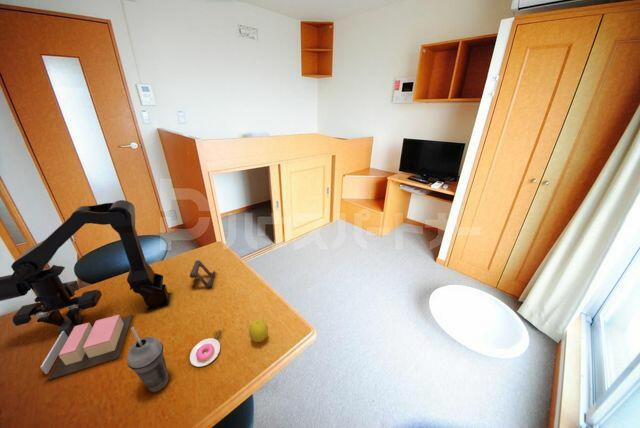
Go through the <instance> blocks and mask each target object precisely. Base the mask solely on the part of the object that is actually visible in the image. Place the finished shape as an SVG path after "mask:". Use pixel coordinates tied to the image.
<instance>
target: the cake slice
mask: <svg viewBox="0 0 640 428" xmlns="http://www.w3.org/2000/svg"><path fill="white" fill-rule="evenodd" d="M91 330H92V325H91V323H90V322H85V323H82V324H79V325H78V326H75V327H74V329H73V330H72V332H71V334H70V336H69V337H68V339H67V340H66V342H65V344H64V346H63V348H62V349H61V351H60V353H59V355H58V356H59V359H60V358H61V359H62V361H63V362H64V364H65V365H68V364H72V363H75V362H78V361H81V360H82V359H83V356H84V354H85V351H84V349H83V347H84V344H85V342H86V340H87V338H88V336H89V334H90V332H91Z"/></svg>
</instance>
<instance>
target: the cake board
mask: <svg viewBox="0 0 640 428" xmlns="http://www.w3.org/2000/svg"><path fill="white" fill-rule="evenodd" d="M121 319H122V321H123V323H124V325H123V328H122V331H121V334H120V337H119V340H118V342H117V345H116V348H115V350H114V351H111V352H108V353H104V354H101V355H98V356H94V357H91V358H89V357H88V356H87V354H86V352H85V354H84V356H83V359H82V360H81V361H78V362H75V363H72V364H68V365H65V364H64V362H63V361H62V359H61V358H60V357H59V359H58V361H57V363H56V365H55V366H54V368H53V370H52V372H51V374H50V376H49V378H48V381H52V380H56V379H58V378H61V377H64V376H68V375H71V374H74V373H77V372H80V371H83V370H87V369H91V368H93V367H96V366H100V365H103V364H106V363H110V362H112V361H116V360H119V359H120V357H121V353H122V349H123V346H124V343H125V341H126V337H127V335H128V332H129V329H130V324H131V322H132V319H133V315H130V316H127V317H123V318H122V317H121ZM91 326H92V325H91ZM93 326H94V325H93ZM93 326H92V328H93Z"/></svg>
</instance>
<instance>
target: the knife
mask: <svg viewBox="0 0 640 428" xmlns="http://www.w3.org/2000/svg"><path fill="white" fill-rule="evenodd" d="M83 318H84V317H83V315H82V313H81V310H80V311H79V323H78V324H77V325H75V324H73V323H72V321H71V320H70V319H69V318H68V317H67V316H66V317H64V319H65V320H64V321H63V323H62V325H61V326H59V328H58V329H57V333H58V334H59V336H58V337H57V339H56V341H55V342H54V344H53V345H52V347H51V348H50V350H49V352H48V354H47V356H45V358H44V360H43V362H42V364H41V365H40V367H39V368H40V370H41V371H42V372H43V373H44V375H47V374H49V372H50V370H51V369H52V367H53V365H54V364H55V361H56V360H57V358H58V356H59V353H60V352H61V350H62V348H63V346H64V344H65V343H66V341H67V339H68V337H69V336H70V334H71V332H72V330H73V329H74V327H75V326H78V325H80V323H81V321H82V319H83Z"/></svg>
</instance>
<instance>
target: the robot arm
mask: <svg viewBox="0 0 640 428" xmlns="http://www.w3.org/2000/svg"><path fill="white" fill-rule="evenodd" d="M88 224H92V225H100V226H101V225H102V226H104V225H105V226H106V225H110V227H111V228H112V229H113V230H114V231H115V232H116V233H117V234H118V236H119V238H120V241H121V243H122V247H123V251H124V253H125V255H126V258H127V260H128V261H127V262H128V263H129V267H130V269H129V271H128V274H127V277H126V281H127V284H128V285H129V290H132V291H133V293H135V294H139V295H140V296H141V297H142V300H143V302H144V304H145V306H146V307H147V308H146V311H153V310H156V309H160V308H163V307H168V306H169V303H170V297H171V292H168V289H167V285H166V284H165V283H164V275H162V274H159V273H156V272H155V271H154V270H153V268H152V266H150V265H149V264H148V263H147V261H146V258H145V255H144V254H145V253H144V251H143V248H142V244H141V241H140V238H139V235H138V232H137V228H136V207H135V205H134V204H133V203H132V202H130V201H128V200H124V199H122V200H120V199H119V200H116V201H114V202H105V203H99V204H93V205H82V206H79V207H77V208H76V209H75V210H74V211H73V212H72V213H71V215H70V216H69V217H67V218H66V220H64V222H62V223H61V224H60V225H58V227H57V228H56V229H54V231H53V232H51V233H50V234H49V235H48V236H47V237H46V238H45V239H44V240H43V239H42V241H40V242H38V243H36V244H34V245H32V246H31V247H29V248H28V249H26V250H25V251H24V252H23V253H22V254H21V255H19V257H18V258H17V259H16V260H14V261H13V262H12V263H11V266H10V268H11V269H12V271H13V273H12V274H8V275H2V276H0V302H2V301H7V300H12V299H15V298H19V297H20V298H21V297H24V296H26V295H27V294H28V293H29V291H31V290H32V292H33V293H34V295H35V296H36V297H35V298H34V303H30V304H29V303H28V304H25V305H22V306H21V307H20V308H19V309H18V310H17V312H16V313H15V314H14V315H13V316H12V318H11V322H12V323H13V325H14V327H15V326H16V327H18V326H22V325H26V324H29V323H30V322H31V321H32V320H33V319H32V317H31V316H34V317H36V318H37V320H36V322H37V323H45V324H49V325H53V326H56V327H60V326H61V325H62V323H63V321H64V320H65V317H64V316H63V315H62V313H61V312H60V310H63V309H68V310H67V312H66V314H65V316H66V317H68V318H69V319H70V320H71V321H72V323H73V324H75V325H77V324H78V323H79V311H80V312H81V310H82V311H83V310H89V309H92V308H95V307H96V306H98V304H99V301H100V300H101V297H102V296H103V293H102V292H101V290H100V289H92V290H88V291H84V292H82V294H81V295H79V296H76V293H75V292H76V291H78V290H80V287H79V283H78V280H71V281H67V282H62V280H61V278H60V276H61V274H62V273H63V271H64V270H65V268H66V267H65V266H62V265H57V264H52V265H51V267H49V268H46V267H47V265H48V264H49V263H50V262H51V260H52V259H53V257H55V255H56V253H57V252H58V250H59V249H60V248H61V247H62V246H63V245H64V244H65V243H66V242H67V241H68V240H69V239H71V238H72V237H73V236H74V235H75V234H76V233H77V232H78V231H79V230H80V229H81V228H82V227H83V226H85V225H88ZM79 324H80V323H79Z"/></svg>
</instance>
